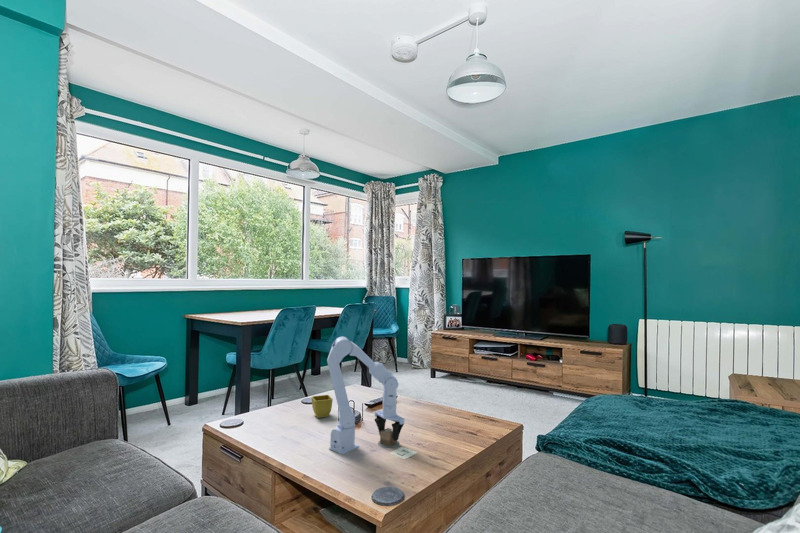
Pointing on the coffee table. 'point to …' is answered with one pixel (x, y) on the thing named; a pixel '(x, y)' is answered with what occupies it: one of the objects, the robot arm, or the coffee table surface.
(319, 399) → the flower pot
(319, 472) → the coffee table surface
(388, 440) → the walnut block
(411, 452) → the tile
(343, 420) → the robot arm
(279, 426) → the coffee table surface
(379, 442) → the slate coaster
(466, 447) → the coffee table surface
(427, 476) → the coffee table surface
